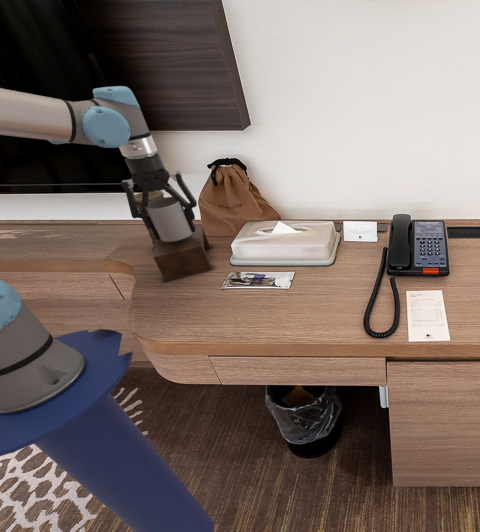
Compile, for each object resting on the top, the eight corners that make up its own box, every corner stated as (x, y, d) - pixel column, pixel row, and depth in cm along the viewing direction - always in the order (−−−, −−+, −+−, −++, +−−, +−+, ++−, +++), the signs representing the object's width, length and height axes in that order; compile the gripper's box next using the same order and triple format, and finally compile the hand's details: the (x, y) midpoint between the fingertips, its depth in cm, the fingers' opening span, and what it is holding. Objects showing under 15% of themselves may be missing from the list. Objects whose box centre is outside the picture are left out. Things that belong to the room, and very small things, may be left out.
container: (148, 250, 112) (122, 198, 102) (171, 237, 119) (148, 188, 109) (169, 254, 109) (144, 201, 100) (191, 241, 117) (170, 190, 107)
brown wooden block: (165, 281, 97) (153, 257, 92) (169, 255, 109) (158, 233, 105) (211, 269, 101) (201, 246, 97) (210, 246, 113) (201, 224, 109)
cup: (193, 236, 98) (179, 204, 93) (160, 244, 95) (144, 211, 89) (192, 225, 104) (179, 194, 99) (161, 232, 101) (146, 201, 96)
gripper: (87, 165, 81) (132, 248, 93) (187, 151, 88) (216, 230, 100) (94, 158, 86) (136, 237, 99) (188, 145, 94) (215, 220, 106)
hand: (176, 233), depth 100 cm, fingers closed on cup, 8 cm apart
